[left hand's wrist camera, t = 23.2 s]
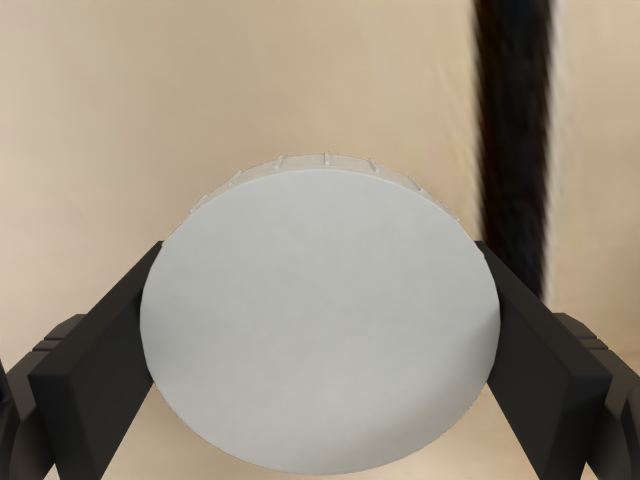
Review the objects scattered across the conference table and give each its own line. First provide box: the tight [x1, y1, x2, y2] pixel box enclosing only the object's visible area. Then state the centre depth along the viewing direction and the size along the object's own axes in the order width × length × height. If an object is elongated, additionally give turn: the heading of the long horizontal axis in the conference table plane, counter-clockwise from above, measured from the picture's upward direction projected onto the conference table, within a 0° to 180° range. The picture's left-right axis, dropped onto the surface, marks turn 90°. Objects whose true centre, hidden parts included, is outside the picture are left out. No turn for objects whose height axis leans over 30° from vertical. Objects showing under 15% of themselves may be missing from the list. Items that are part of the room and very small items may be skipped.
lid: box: [140, 151, 501, 475], centre depth 11 cm, size 9×9×2 cm
